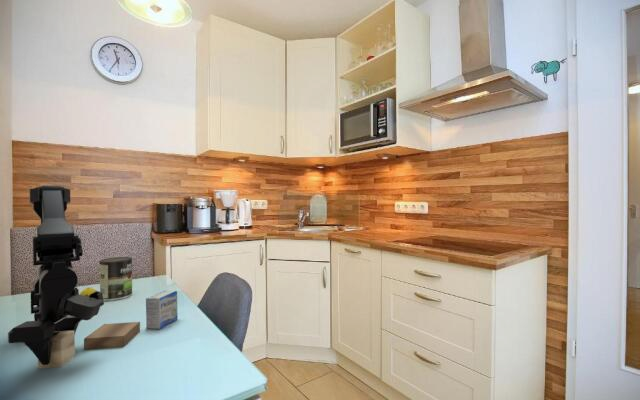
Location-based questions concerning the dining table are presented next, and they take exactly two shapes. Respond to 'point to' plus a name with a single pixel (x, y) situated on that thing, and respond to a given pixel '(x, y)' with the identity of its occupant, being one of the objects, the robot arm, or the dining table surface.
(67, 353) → the birch block
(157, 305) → the medicine box
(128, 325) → the walnut block
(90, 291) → the lemon
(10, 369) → the dining table surface
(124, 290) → the coffee can
